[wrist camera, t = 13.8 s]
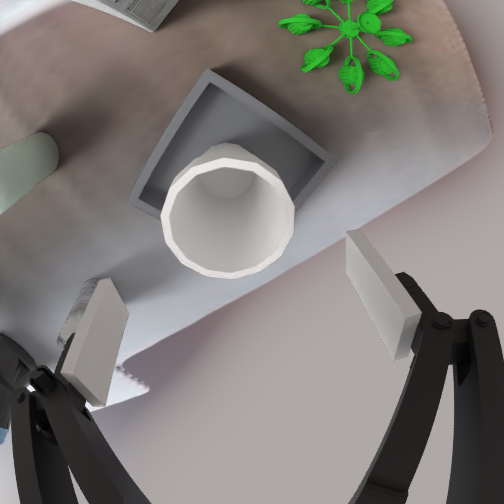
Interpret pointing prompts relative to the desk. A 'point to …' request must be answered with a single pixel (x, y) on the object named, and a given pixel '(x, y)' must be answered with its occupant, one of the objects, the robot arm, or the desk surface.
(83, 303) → the steel canister
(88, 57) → the desk surface
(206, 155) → the foam cup
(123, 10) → the supplement box
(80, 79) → the desk surface
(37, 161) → the sage canister
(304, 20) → the green leafy sprig
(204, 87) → the tray
